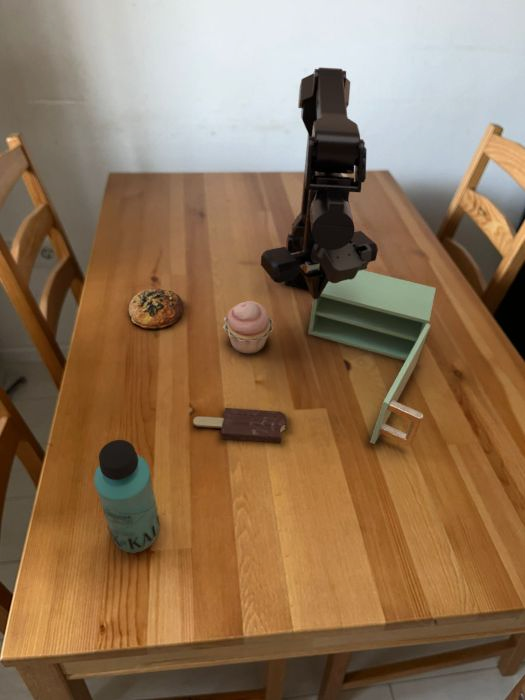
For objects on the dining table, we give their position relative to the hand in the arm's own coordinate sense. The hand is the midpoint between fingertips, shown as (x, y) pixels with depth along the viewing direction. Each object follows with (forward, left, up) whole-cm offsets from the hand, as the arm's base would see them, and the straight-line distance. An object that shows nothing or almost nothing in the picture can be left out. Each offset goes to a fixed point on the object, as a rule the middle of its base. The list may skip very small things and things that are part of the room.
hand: (314, 298), depth 88 cm
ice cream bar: (-5, -22, -13) cm, 26 cm away
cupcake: (-11, -3, -13) cm, 17 cm away
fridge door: (+20, -7, -12) cm, 25 cm away
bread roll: (-31, -2, -13) cm, 33 cm away
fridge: (+9, +9, -12) cm, 18 cm away
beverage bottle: (-11, -44, -13) cm, 47 cm away
